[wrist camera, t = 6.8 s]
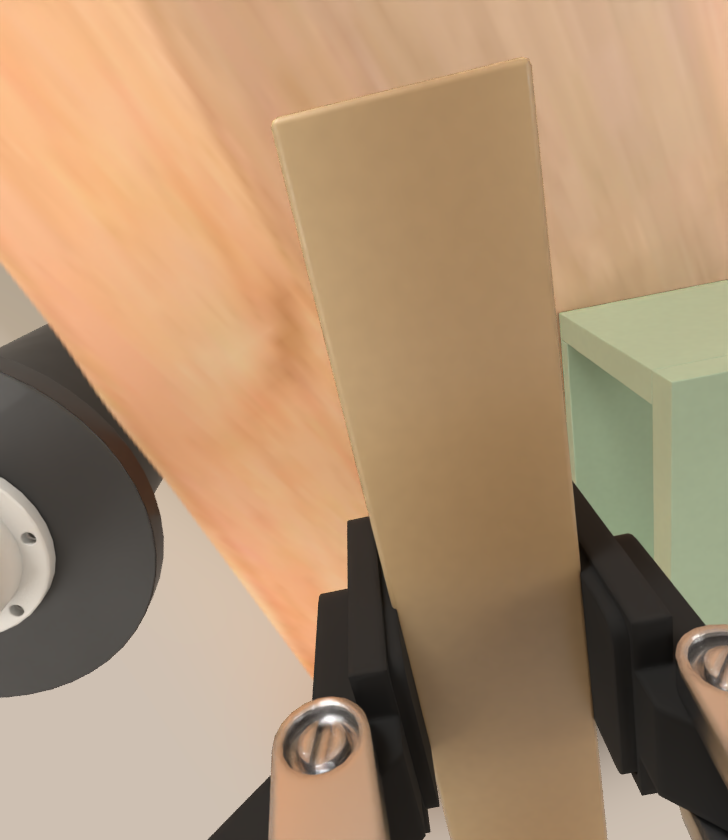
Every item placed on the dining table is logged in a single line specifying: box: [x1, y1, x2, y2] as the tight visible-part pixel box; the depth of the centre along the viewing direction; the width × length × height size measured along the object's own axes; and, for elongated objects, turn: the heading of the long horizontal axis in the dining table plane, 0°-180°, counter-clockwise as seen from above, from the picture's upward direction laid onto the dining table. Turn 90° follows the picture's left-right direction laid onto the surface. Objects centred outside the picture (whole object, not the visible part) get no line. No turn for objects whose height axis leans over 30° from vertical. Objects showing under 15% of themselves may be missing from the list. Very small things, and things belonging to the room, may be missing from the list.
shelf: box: [559, 280, 728, 625], centre depth 31 cm, size 10×20×12 cm, turn 11°
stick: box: [271, 57, 607, 840], centre depth 11 cm, size 3×16×3 cm, turn 13°
